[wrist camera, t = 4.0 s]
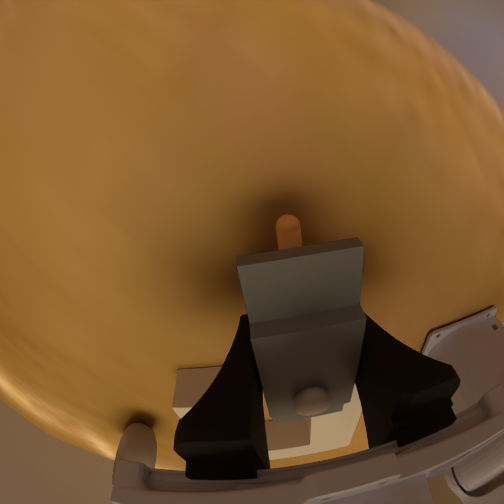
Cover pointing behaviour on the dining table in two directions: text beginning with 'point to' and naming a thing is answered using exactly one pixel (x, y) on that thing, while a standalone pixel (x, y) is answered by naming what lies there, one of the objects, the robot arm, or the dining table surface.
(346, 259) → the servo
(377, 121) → the dining table surface
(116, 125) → the dining table surface
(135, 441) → the donut
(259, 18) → the dining table surface
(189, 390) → the chassis
